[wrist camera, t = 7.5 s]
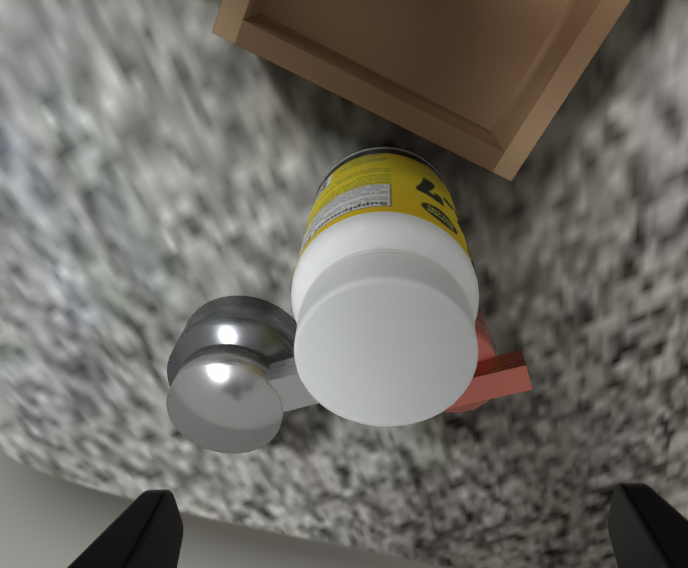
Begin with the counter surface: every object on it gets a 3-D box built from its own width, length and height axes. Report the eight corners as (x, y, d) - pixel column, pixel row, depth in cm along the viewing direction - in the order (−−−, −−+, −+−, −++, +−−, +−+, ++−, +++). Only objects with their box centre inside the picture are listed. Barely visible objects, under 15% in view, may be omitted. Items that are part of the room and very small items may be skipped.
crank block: (205, 275, 21) (190, 304, 19) (328, 327, 22) (324, 358, 20) (168, 370, 23) (151, 402, 22) (279, 413, 24) (272, 448, 22)
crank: (209, 435, 22) (184, 505, 19) (159, 356, 20) (123, 420, 17) (518, 360, 19) (542, 428, 17) (492, 262, 18) (514, 320, 15)
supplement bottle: (470, 245, 20) (525, 411, 13) (348, 289, 21) (332, 464, 14) (423, 118, 18) (454, 228, 10) (290, 175, 19) (234, 310, 12)
